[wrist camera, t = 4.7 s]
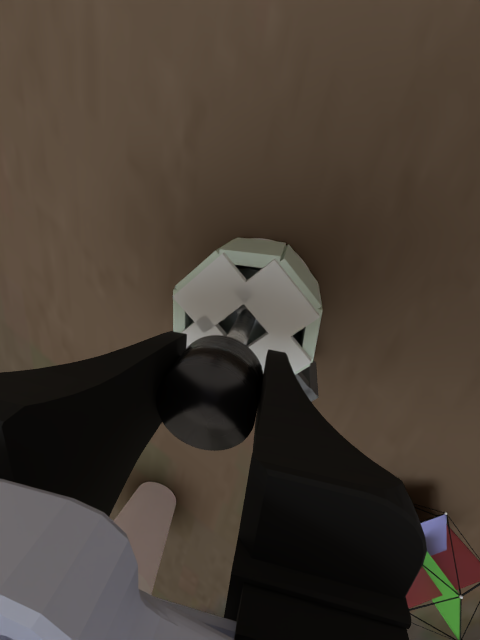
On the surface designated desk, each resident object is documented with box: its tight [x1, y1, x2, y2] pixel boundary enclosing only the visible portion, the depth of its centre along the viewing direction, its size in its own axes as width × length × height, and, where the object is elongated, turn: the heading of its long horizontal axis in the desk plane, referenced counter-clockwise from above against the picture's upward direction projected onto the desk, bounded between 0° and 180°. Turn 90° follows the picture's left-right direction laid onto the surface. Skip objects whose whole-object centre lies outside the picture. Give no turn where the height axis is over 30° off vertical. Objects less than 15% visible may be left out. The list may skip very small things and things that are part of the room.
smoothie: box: [113, 482, 176, 595], centre depth 22 cm, size 6×6×14 cm
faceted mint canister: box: [172, 237, 323, 401], centre depth 17 cm, size 9×7×5 cm
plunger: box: [156, 268, 293, 451], centre depth 13 cm, size 5×5×8 cm
